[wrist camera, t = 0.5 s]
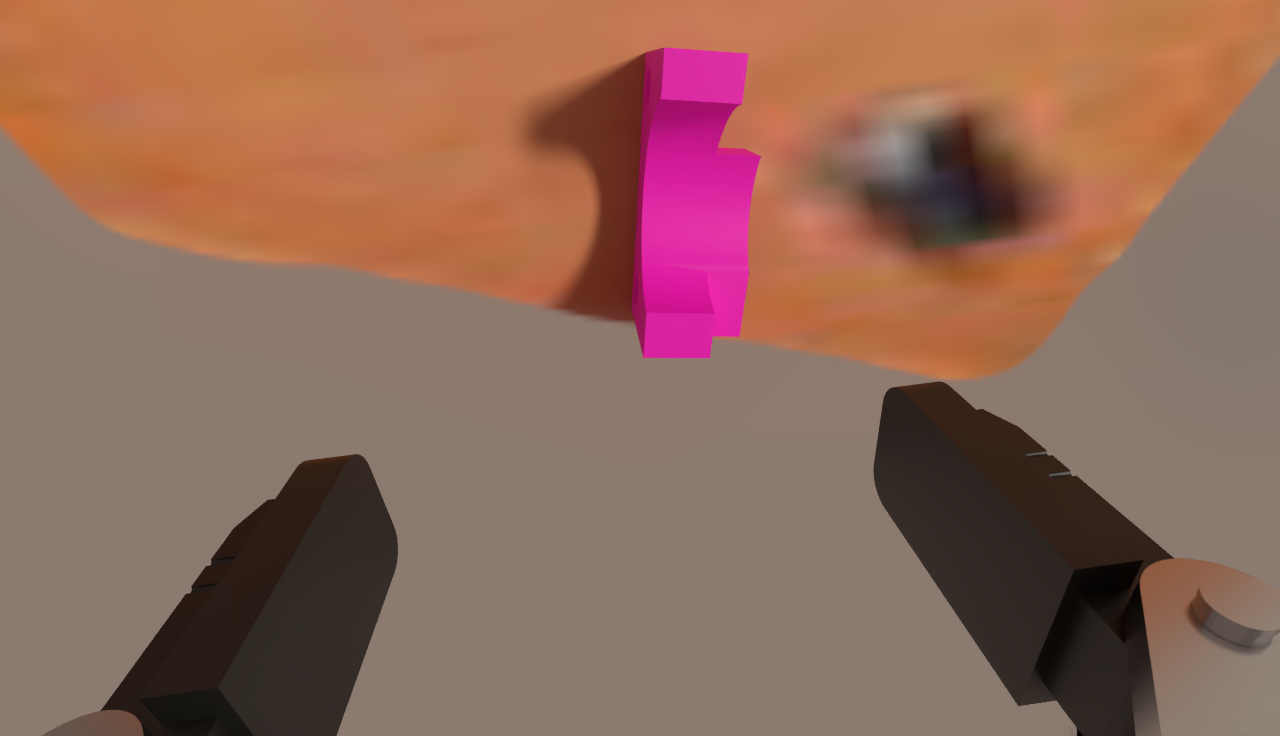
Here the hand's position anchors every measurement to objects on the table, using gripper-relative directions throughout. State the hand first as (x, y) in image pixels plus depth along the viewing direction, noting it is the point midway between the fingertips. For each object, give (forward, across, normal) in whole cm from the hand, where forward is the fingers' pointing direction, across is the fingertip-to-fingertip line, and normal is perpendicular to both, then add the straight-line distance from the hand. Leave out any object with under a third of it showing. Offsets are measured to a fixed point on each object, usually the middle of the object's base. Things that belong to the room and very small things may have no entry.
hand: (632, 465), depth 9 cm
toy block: (+29, -6, +2) cm, 29 cm away
